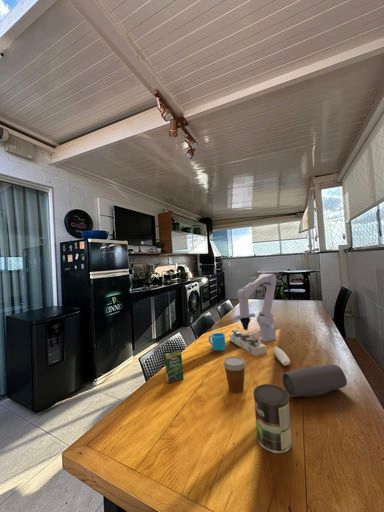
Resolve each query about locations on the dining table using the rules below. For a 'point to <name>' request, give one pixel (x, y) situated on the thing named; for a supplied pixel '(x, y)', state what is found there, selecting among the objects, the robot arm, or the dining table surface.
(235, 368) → the disposable coffee cup
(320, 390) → the bluetooth speaker
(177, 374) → the coffee box
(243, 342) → the power strip
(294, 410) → the dining table surface
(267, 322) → the robot arm
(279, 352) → the white corn cob
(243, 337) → the rocker dark gray
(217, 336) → the mug
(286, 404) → the coffee can
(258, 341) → the rocker slate
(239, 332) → the dark grey block
